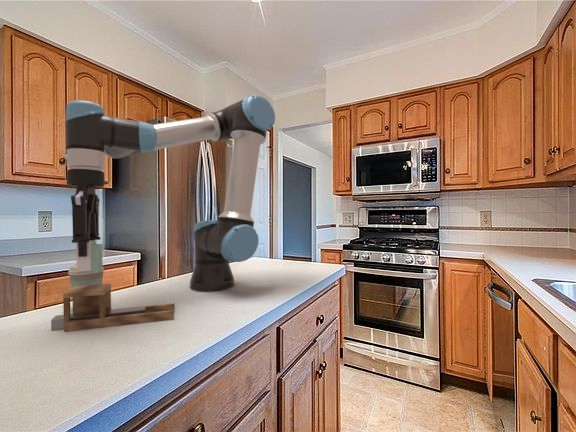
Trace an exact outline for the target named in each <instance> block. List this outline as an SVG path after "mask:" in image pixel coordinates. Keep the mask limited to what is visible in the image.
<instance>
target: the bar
mask: <svg viewBox="0 0 576 432" xmlns="http://www.w3.org/2000/svg"><path fill="white" fill-rule="evenodd" d="M146 306H147V305H144V306H135V307H123V309H121V308H114V309H113V310H106V317H111V316H121V315H131V314H140V313H146ZM70 316H71V321H73V320H82V319H92V318H100V311H95V312H85V313H76V314H73V313H70ZM50 326H51V327H50V329H51V331H52V332H53V331H54V332H55V331H60V330H61V331H62V330H63V331H64V314H59V315H55V316H53V318H52V319H51V320H50Z"/></svg>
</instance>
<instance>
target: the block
mask: <svg viewBox="0 0 576 432" xmlns="http://www.w3.org/2000/svg"><path fill="white" fill-rule="evenodd" d="M102 265H103V243H97V244H91V271H78V272H98V271H99V270H101V269H102ZM78 272H77V273H78Z"/></svg>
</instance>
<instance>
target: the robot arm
mask: <svg viewBox="0 0 576 432" xmlns="http://www.w3.org/2000/svg"><path fill="white" fill-rule="evenodd" d="M65 107H66V108H65V113H66V114H65V121H64V123H65V142H66V154H64V155H63V158H64V159H65V160H66V167H67V168H68V169H67V170H66V185H67V186H69V187H73V188H76V191H75V194H72V195H71V197H70V201H71V207H72V208H71V212H72V213H71V214H72V218H71V219H72V220H71V221H72V239H71V243H72V244H76V246H75V247H76V248H75V249H76V264H77V272H78V271H91V244H98V243H97V242H98V241H100V240H101V236H100V233H99V232H100V231H99V229H100V227H99V226H100V225H99V223H100V222H99V221H100V220H99V217H100V215H99V213H100V212H99V211H100V209H99V208H100V207H99V206H100V198H99V197H98V194H96V189H97V188H104V187H105V182H106V181H105V178H106V177H105V172H104V171H103V170H104V169H105V168H106V164H105V163H106V161H105V155H106V156H107V157H108V158H111V159H122V158H125V157H127V156H132V155H137V154H141V153H151V152H154V151H156V150H162V149H167V148H172V147H177V146H178V147H179V146H182V145H183V146H184V145H188V144H192V143H193V144H194V143H198V142H203V141H207V140H211V141H213V142H218V141H225V140H233V148H232V154H231V161H230V168H229V172H228V173H229V175H228V181H227V187H226V188H227V189H226V194H225V202H224V208H223V212H222V213H221V214H219V215H218V216H217V219H211V220H202V221H198V222H196V223H195V224H194V229H193V230H194V231H193V235H194V268H193V271H192V275H191V278H190V281H189V288H190V289H191V290H193V291H197V292H217V291H223V290H227V289H230V288H233V287H234V286H235V278H234V275H233V271H232V269H231V266H230V262H232V263H237V262H238V263H240V262H241V263H242V262H245V261H248V260H249V259H250V258H251V257H253V255H254V254H255V253H256V251H257V249H258V246H259V235H258V233H257V231H256V229H255V228H254V226H255V220H254V219H253V217H251V213H252V205H253V200H254V191H255V186H256V179H257V178H256V177H257V171H258V163H259V156H260V148H261V145H262V144H264V143H266V139H267V132H268V131H269V130H271V128H273V127H274V125H275V123H276V113H275V110H274V107H273V106H272V104H271V103H270V101H269V100H268V99H267V98H265V96H262V95H260V94H252V95H250V96H249V95H247V96H246V97H243V99H241V100H238V101H237V102H235V103H234V102H233V103H232V104H230V105H227V106H226V107H224V108H222V109H220V110H217V111H214V112H209V113H206V114H205V116H202V117H195V118H188V119H183V120H181V119H180V120H175V121H168V122H161V123H154V124H151V123H148V122H144V121H141V120H139V121H137V120H132V119H126V118H120V117H115V116H110V115H106V114H105V111H104V107H103V106H102V105H100V104H99V103H94V102H93V101H87V100H82V99H81V100H79V99H77V100H72V101H70V102H68V103H67V104H66V106H65Z"/></svg>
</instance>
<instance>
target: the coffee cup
mask: <svg viewBox="0 0 576 432" xmlns="http://www.w3.org/2000/svg"><path fill="white" fill-rule="evenodd" d="M104 271H105V267H104V265H103V264H102V269H101V270H99V271H98V272H78V273H77V263H76V264H73V265H70V267H69V268H68V272H67V275H69V282H70V289H71V288H72V287H74V286H87V285H101V284H103V278H104Z"/></svg>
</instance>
